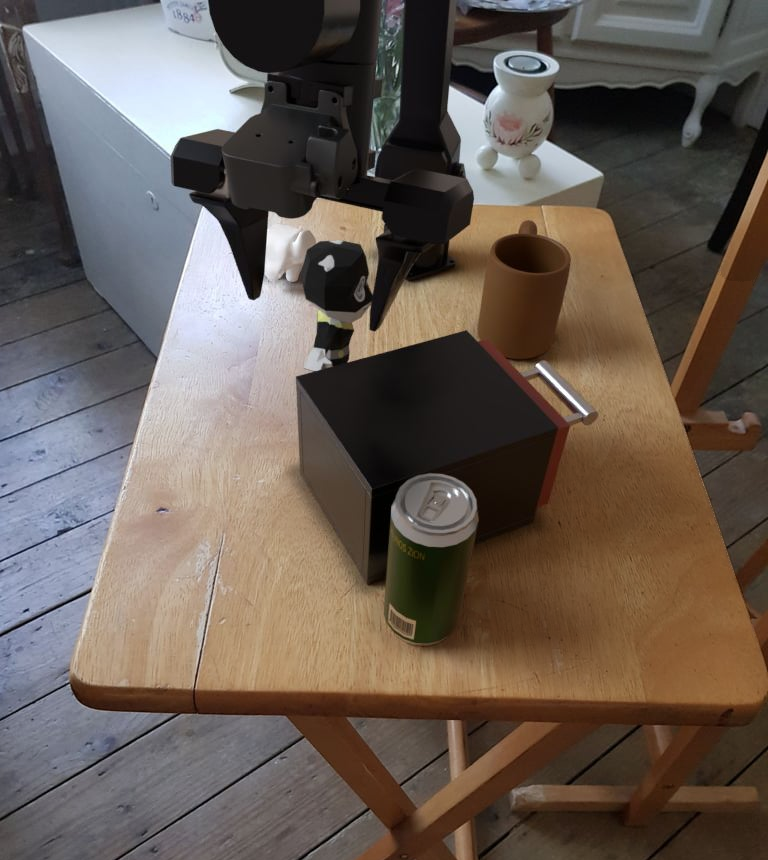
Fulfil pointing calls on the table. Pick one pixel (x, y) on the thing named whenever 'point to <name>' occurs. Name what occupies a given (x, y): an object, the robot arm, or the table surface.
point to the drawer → (549, 407)
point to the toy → (335, 298)
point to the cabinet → (419, 440)
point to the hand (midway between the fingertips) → (313, 313)
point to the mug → (523, 292)
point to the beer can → (429, 557)
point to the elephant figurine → (286, 251)
